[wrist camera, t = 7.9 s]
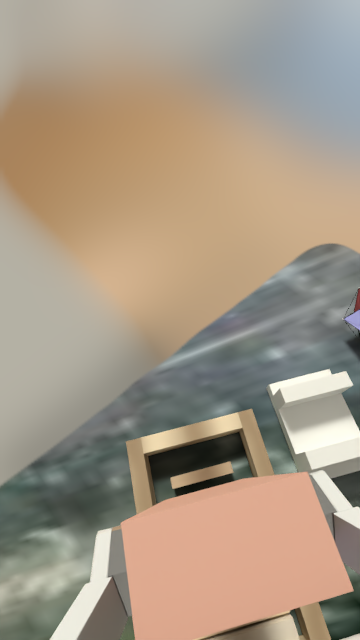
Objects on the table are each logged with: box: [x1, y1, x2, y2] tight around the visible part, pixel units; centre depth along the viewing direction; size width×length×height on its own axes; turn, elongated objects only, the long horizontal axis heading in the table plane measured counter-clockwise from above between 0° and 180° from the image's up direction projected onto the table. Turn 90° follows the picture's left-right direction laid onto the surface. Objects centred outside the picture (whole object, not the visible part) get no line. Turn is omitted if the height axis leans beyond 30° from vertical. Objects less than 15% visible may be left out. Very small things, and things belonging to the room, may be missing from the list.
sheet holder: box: [267, 369, 360, 479], centre depth 31 cm, size 7×10×4 cm
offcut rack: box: [126, 409, 331, 640], centre depth 27 cm, size 13×20×5 cm, turn 14°
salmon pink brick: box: [121, 472, 354, 640], centre depth 13 cm, size 5×2×13 cm, turn 103°
